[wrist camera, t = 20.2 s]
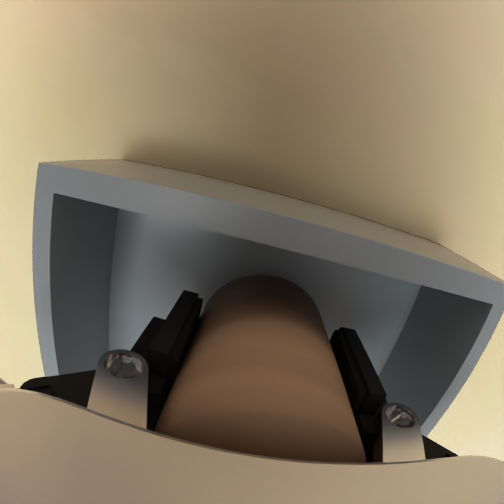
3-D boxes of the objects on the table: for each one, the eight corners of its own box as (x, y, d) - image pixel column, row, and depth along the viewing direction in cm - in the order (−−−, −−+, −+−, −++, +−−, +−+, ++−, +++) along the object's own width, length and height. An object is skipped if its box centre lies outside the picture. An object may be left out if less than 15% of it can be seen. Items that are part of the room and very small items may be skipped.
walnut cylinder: (212, 260, 11) (149, 381, 5) (339, 291, 12) (407, 423, 5) (191, 364, 13) (146, 497, 6) (299, 388, 13) (315, 522, 6)
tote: (120, 159, 13) (38, 162, 7) (438, 243, 13) (513, 287, 8) (111, 450, 19) (87, 503, 13) (300, 490, 20) (304, 547, 14)
